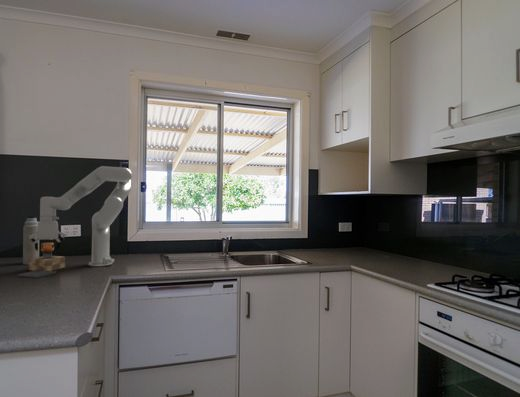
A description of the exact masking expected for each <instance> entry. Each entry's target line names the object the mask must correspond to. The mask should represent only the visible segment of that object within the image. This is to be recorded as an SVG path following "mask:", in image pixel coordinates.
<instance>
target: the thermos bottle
mask: <svg viewBox="0 0 520 397" xmlns="http://www.w3.org/2000/svg"><path fill="white" fill-rule="evenodd" d="M38 222H39V221H37V215H35V216H34V215H28V216H26V221H25V222H24V225H23V233H22V234H23V235H22V236H23V237H22V238H23V239H22V241H23V243H22V264H23V265H29V259H32V258H37V257H40V240H39V241H38V250H37V251H36V249H35V243H34V242H33V241H31V239H30V238H29V235H31V234H33V233H35V232H37V226H38ZM33 239H35V240H36V239H37V235H34V236H33Z"/></svg>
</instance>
